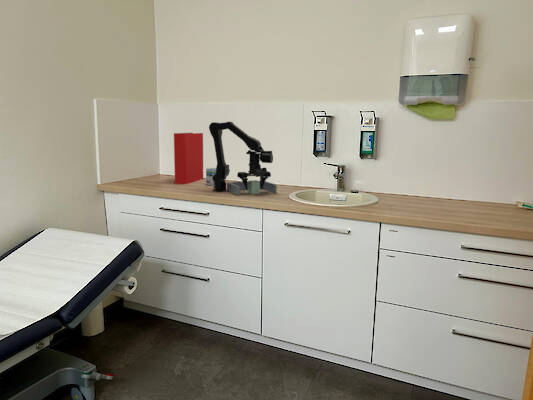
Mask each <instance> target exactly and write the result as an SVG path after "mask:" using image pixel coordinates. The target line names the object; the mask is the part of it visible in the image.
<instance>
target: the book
mask: <svg viewBox="0 0 533 400" xmlns="http://www.w3.org/2000/svg"><path fill="white" fill-rule="evenodd" d="M173 155H174V157H173V158H174V163H173V164H174V184H175V185H188V184H192V183H194V182H198V181H201V180H204V133H203V132H198V133H197V132H195V133H193V132H176V133H173Z"/></svg>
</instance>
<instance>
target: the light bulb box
mask: <svg viewBox="0 0 533 400" xmlns="http://www.w3.org/2000/svg"><path fill="white" fill-rule="evenodd" d="M216 167H217V166H216ZM216 167H207V168H205V174H206V175H205V180H206V181H205V184H206V186H212V187H214V181H213V179H212V177H213V176H214V175H215V174H216Z"/></svg>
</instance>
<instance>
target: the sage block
mask: <svg viewBox="0 0 533 400" xmlns="http://www.w3.org/2000/svg"><path fill="white" fill-rule="evenodd" d="M247 181H248V190H247V193H249V194H250V195H257V194H261V189H260V180H257V179H255V180H247Z"/></svg>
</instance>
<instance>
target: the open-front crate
mask: <svg viewBox="0 0 533 400" xmlns="http://www.w3.org/2000/svg"><path fill="white" fill-rule="evenodd" d="M248 181H249V180H247V186H248ZM277 189H278V188H277V184H276V183H272V182H269V181H266V180H265V182H264V185H263V187H262V189H261V188H260V190H265V191H267V192H270V193H273V194H277ZM241 191H248V188H247V190H246V188H245V186H244V183H243V181H230V182H229V181H228V182H226V192H229V193H232V194H234V195H235V196H238V197H239V196H241Z"/></svg>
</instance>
